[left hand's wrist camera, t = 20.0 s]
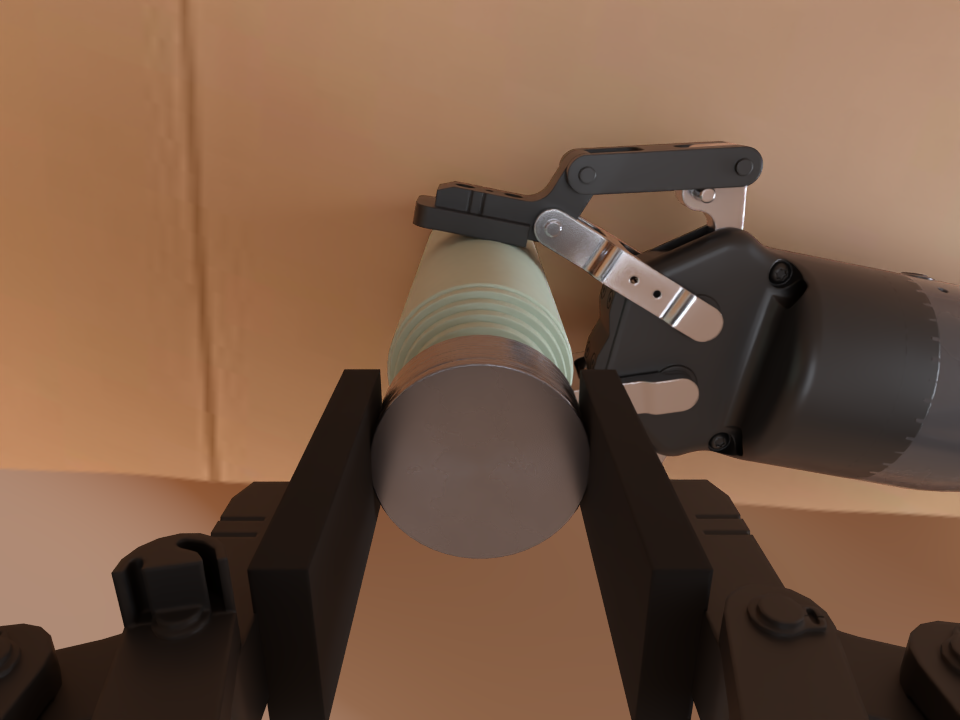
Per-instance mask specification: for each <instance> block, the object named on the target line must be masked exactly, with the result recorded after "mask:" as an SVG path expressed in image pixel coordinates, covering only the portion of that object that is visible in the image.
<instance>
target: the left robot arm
mask: <svg viewBox="0 0 960 720" xmlns="http://www.w3.org/2000/svg"><path fill="white" fill-rule="evenodd" d="M578 404H579V408H580V411H581V414H582V417H583V420H584V423H585V427H586V430H587V433H588V437H589V441H590V458H589V473H588V486H587V490H586V493H585V495H584V498H583V500H582V501H581V503H580V507H581V511H582V516H583V520H584V524H585V528H586V532H587V536H588V540H589V545H590V549H591V553H592V557H593V561H594V566H595V570H596V574H597V578H598V582H599V586H600V590H601V595H602V599H603V603H604V607H605V611H606V615H607V619H608V624H609V628H610V632H611V636H612V640H613V644H614V648H615V653H616V657H617V661H618V665H619V669H620V674H621V678H622V682H623V686H624V690H625V694H626V699H627V703H628V707H629V711H630V715H631V719H632V720H691V714H692V708H693V701H694V703H695V706H696V709H697V712H698V715H699V718H700V720H960V623H951V622H943V621H935V622H929V623H924V624H920V625H919V626H918V627H917V628H916V629H915V630H913V631H912V632H911V633H910V637H909V640H908V643H907V647H906V648H905V647H901V646H896V645H892V644H888V643H883V642H879V641H874V640H870V639H866V638H861V637H857V636H854V635H851V634H847V633H844V632H841V631H839V630H837V629H836V627H835V625H834V623H833V622H832V620H831V619H830V617H829V616H828V614H827V612H825V611H824V610H823V609H822V608H821V607H819V606H818V605H817V604H816V603H815V602H813V601H812V600H811V599H809V598H807V597H805V596H803V595H801V594H799V593H797V592H795V591H793V590H791V589H787V588H785V587H784V585H783V584H782V582H781V580H780V579H779V577H778V576H777V574H776V572H775V571H774V569H773V567H772V566H771V564H770V563H769V561H768V559H767V558H766V556H765V554H764V553H763V551H762V550H761V548H760V546H759V545H758V543H757V541H756V540H755V538H754V536H753V535H750V530H749V528H748V527H747V525H746V523H745V522H744V520H743V519H741V518H740V514H739V512H738V510H737V509H736V507H735V506H734V504H733V502H732V501H731V499H730V497H729V496H728V495H727V494H725V493H724V492H723V491H721V490H720V489H719V488H717V487H716V486H715V485H713V484H712V483H711V482H709V481H708V480H670V479H669V477H668V475H667V473H666V471H665V469H664V467H663V465H662V463H661V461H660V459H659V457H658V455H657V453H656V451H655V449H654V447H653V445H652V443H651V440H650V438H649V436H648V434H647V432H646V430H645V428H644V426H643V424H642V422H641V420H640V418H639V416H638V414H637V412H636V410H635V408H634V406H633V404H632V401H631V399H630V397H629V395H628V393H627V391H626V389H625V387H624V385H623V383H622V381H621V379H620V377H619V375H618V373H617V371H616V369H580V385H579V402H578ZM381 406H382V395H381V378H380V369H345V370H344V372H343V374H342V376H341V378H340V380H339V382H338V384H337V386H336V388H335V390H334V392H333V394H332V396H331V398H330V400H329V402H328V404H327V406H326V409H325V411H324V413H323V415H322V417H321V419H320V421H319V423H318V425H317V427H316V429H315V431H314V433H313V435H312V437H311V439H310V441H309V443H308V445H307V447H306V450H305V452H304V454H303V456H302V458H301V460H300V462H299V464H298V466H297V468H296V470H295V472H294V474H293V476H292V478H291V480H290V482H253V483H252V484H250V485H249V486H248V487H246V488H245V489H244V490H242V491H241V492H240V493H238V494H237V495H236V496H234V497H233V498H232V499H231V501H230V502H229V504H228V506H227V507H226V509H225V511H224V512H223V514H222V516H221V519H220V521H218V522H217V524H216V525H215V527H214V529H213V530H212V532H211V536H208V535H205V534H201V533H182V534H176V535H172V536H167V537H163V538H159V539H156V540H154V541H152V542H149V543H147V544H145V545H142V546H140V547H138V548H137V549H135V550H134V551H132V552H131V553H130V554H128V555H127V556H125V557H124V558H123V559H121V561H120V562H119V564H118V565H117V566H116V568H115V569H114V570H113V572H112V578H113V582H114V586H115V590H116V594H117V598H118V602H119V607H120V611H121V615H122V619H123V623H124V627H125V628H124V630H123V633H122V634H119V635H116V636H112V637H109V638H106V639H102V640H98V641H94V642H89V643H85V644H81V645H76V646H72V647H67V648H63V649H59V650H55V648H54V645H53V642H52V638H51V635H49V634H48V633H47V632H46V631H45V630H44V629H43V628H42V627H39V626H33V625H28V624H16V625H7V626H0V720H261V719H262V716H263V713H264V711H265V708H266V705H268V711H269V718H270V720H329V717H330V713H331V709H332V704H333V700H334V696H335V692H336V688H337V684H338V679H339V675H340V671H341V667H342V663H343V659H344V655H345V650H346V646H347V642H348V638H349V634H350V630H351V625H352V621H353V617H354V613H355V609H356V605H357V600H358V596H359V592H360V588H361V584H362V579H363V575H364V571H365V567H366V563H367V559H368V555H369V551H370V546H371V542H372V538H373V533H374V530H375V525H376V521H377V517H378V513H379V509H380V505H381V504H380V502H379V500H378V498H377V497H376V494H375V491H374V489H373V482H372V467H371V451H370V444H371V439H372V435H373V432H374V429H375V425H376V422H377V419H378V416H379V413H380V409H381Z"/></svg>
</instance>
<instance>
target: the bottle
mask: <svg viewBox="0 0 960 720" xmlns="http://www.w3.org/2000/svg"><path fill="white" fill-rule="evenodd" d="M469 335H492V336H500V337H504V338H508V339H512V340H516V341H518V342H521V343H523V344H526V345H528V346H530V347H532V348H533V349H535V350H537V351H539V352H540V353H542V354H543V355H544V356H546V357H547V358H548V359H550V360H551V361H552V362H553V363H554V364H555V365H556V366H557V367H558V368H559V369H560V371H561V372H562V373H563V374H564V376H565V377H566V378H567V380H568V382H569V383H570V385H572V379H573V357H572V352H571V347H570V344H569V341H568V338H567V335H566V333H565V330H564V327H563V324H562V321H561V318H560V316H559V313H558V310H557V307H556V304H555V301H554V299H553V296H552V293H551V290H550V287H549V284H548V282H547V279H546V276H545V273H544V270H543V267H542V265H541V262H540V259H539V256H538V253H537V250H536V248H535V245H534V242H533V241H531V240H527V244H526V248H525V247H520V246H515V245H510V244H505V243H501V242H496V241H491V240H484V239H479V238H474V237H469V236H464V235H459V234H453V233H448V232H443V231H438V230H432V232H431V234H430V236H429V239H428V241H427V244H426V247H425V250H424V252H423V255H422V258H421V261H420V264H419V267H418V269H417V272H416V275H415V278H414V281H413V283H412V286H411V289H410V292H409V295H408V298H407V300H406V303H405V306H404V309H403V312H402V315H401V317H400V320H399V323H398V326H397V329H396V331H395V334H394V337H393V340H392V343H391V347H390V350H389V356H388V370H387V374H388V381H389V386H390V384H391V383H392V381H393V379H394V378H395V376H396V375H397V374H398V373H399V371H400V370H401V369H402V368H403V367H404V366H405V365H406V364H407V363H408V362H409V361H410V360H411V359H412V358H414V357H415V356H416V355H418V354H419V353H420V352H422V351H423V350H425V349H427V348H429V347H431V346H433V345H435V344H437V343H440V342H442V341H445V340H448V339H452V338H456V337H461V336H469Z"/></svg>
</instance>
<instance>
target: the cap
mask: <svg viewBox="0 0 960 720" xmlns="http://www.w3.org/2000/svg"><path fill="white" fill-rule="evenodd" d="M370 451H371V467H372V482H373V489H374V491H375V494H376V497H377V498H378V500H379V502H380V504H381V506H382V508H383V509H384V511H385V512H386V513H387V515H388V516H389V517H390V519H391V520H392V521H393V522H394V523H395V524H396V525H397V526H398V527H399V528H400V529H401V530H402V531H403V532H405V533H406V534H407V535H408V536H410V537H411V538H413V539H414V540H416V541H418V542H419V543H421V544H423V545H425V546H427V547H429V548H431V549H434V550H436V551H439V552H442V553H445V554H449V555H453V556H458V557H465V558H496V557H502V556H507V555H512V554H516V553H519V552H522V551H524V550H527V549H529V548H531V547H534V546H536V545H538V544H540V543H541V542H543V541H545V540H546V539H548V538H549V537H551V536H552V535H553V534H555V533H556V532H557V531H558V530H560V529H561V528H562V527H563V526H564V525H565V524H566V523H567V522H568V521H569V519H570V518H571V517H572V515H573V514H574V513H575V511H576V510H577V509H578V507H579V505H580V503H581V501H582V500H583V498H584V495H585V493H586V490H587V486H588V473H589V458H590V441H589V437H588V433H587V430H586V427H585V423H584V420H583V417H582V414H581V411H580V408H579V404H578V401H577V399H576V396H575V394H574V391H573V389H572V387H571V385H570V383H569V382H568V380H567V378H566V377H565V376H564V374H563V373H562V372H561V371H560V369H559V368H558V367H557V366H556V365H555V364H554V363H553V362H552V361H551V360H550V359H548V358H547V357H546V356H544V355H543V354H542V353H540V352H539V351H537V350H535V349H533V348H532V347H530V346H528V345H526V344H523V343H521V342H518V341H516V340H512V339H508V338H504V337H500V336H492V335H469V336H461V337H456V338H452V339H448V340H445V341H442V342H440V343H437V344H435V345H433V346H431V347H429V348H427V349H425V350H423V351H422V352H420V353H419V354H418V355H416V356H415V357H414V358H412V359H411V360H410V361H409V362H408V363H407V364H406V365H405V366H404V367H403V368H402V369H401V370H400V371H399V373H398V374H397V375H396V376H395V378H394V379H393V381H392V383H391V384H390V386H389V388H388V390H387V392H386V395H385V397H384V400H383V403H382V406H381V409H380V413H379V416H378V419H377V422H376V425H375V429H374V432H373V435H372V439H371V444H370Z"/></svg>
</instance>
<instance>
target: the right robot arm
mask: <svg viewBox="0 0 960 720" xmlns="http://www.w3.org/2000/svg"><path fill="white" fill-rule="evenodd" d="M762 168H763V160H762V157H761V155H760V153H759V152H758V151H757V150H756V149H754V148H752V147H747V146H743V145H738V144H733V143H728V142H723V141H712V142H694V143H675V144H656V145H637V146H618V147H600V148H581V149H573V150H570V151H568V152H567V153H566V154H565V155H564V156H563V157H562V159H561V161H560V164H559V167H558V169H557V171H556V172H555V174H554V175H553V177H552V179H551V180H550V182H549V184H548V185H547V186H546V187H545V188H544V189H543V190H542V191H541V192H539V193H537V194H534V195H522V194H517V193H512V192H507V191H502V190H497V189H492V188H487V187H482V186H477V185H471V184H467V183H462V182H457V181H454V182H449V183H444V184H440V185H439V187H438V189H437V194H436V197H433V196H424V195H422V196H419V198H418V199H417V201H416V206H415V213H414V219H413V224H415V225H417V226H420V227H423V228H428V229H433V230H438V231H443V232H448V233H453V234H459V235H464V236H469V237H474V238H479V239H484V240H491V241H496V242H501V243H505V244H510V245H515V246H520V247H525V248H526V244H527V240H531V241H536V242H540V243H541V244H543V245H544V246H546V247H547V248H549V249H551V250H552V251H554V252H556V253H557V254H559V255H561V256H562V257H564V258H566V259H567V260H569V261H571V262H572V263H574V264H576V265H577V266H579V267H580V268H582V269H584V270H585V271H587V272H588V273H589V274H590V275H591V276H593V277H594V278H595V279H597V280H598V281H600V282H601V283H603V286H602V289H601V293H600V317H599V320H598V322H597V324H596V325H595V327H594V329H593V330H592V332H591V334H590V336H589V338H588V342H587V345H586V349H585V351H584V352H577V353H572V357H573V379H572V385H571V387H572V389H573V391H574V394H575V396H576V399H577V401H578V402H579V385H580V369H585V368H586V369H616V371H617V373H618V375H619V377H620V379H621V381H622V383H623V385H624V387H625V389H626V391H627V393H628V395H629V397H630V399H631V401H632V404H633V406H634V408H635V410H636V412H637V414H638V416H639V418H640V420H641V422H642V424H643V426H644V428H645V430H646V432H647V434H648V436H649V438H650V440H651V443H652V445H653V447H654V449H655V451H656V453H657V455H658V457H659V459H660V461H661V463H662V462H663V461H664V459H665V457H666V456H678V455H682V454H686V453H689V452H694V451H702V450H708V451H713V452H717V453H721V454H724V455H727V456H730V457H734V458H737V459H742V460H747V461H753V462H758V463H764V464H770V465H775V466H781V467H787V468H793V469H798V470H804V471H810V472H815V473H821V474H827V475H833V476H838V477H844V478H850V479H856V480H862V481H867V482H873V483H879V484H884V485H890V486H895V487H901V488H907V489H914V490H925V491H942V492H960V286H958V285H954V284H950V283H945V282H940V281H935V280H934V279H932V278H929V277H927V276H926V275H922V274H916V273H908V272H902V273H895V272H890V271H885V270H880V269H875V268H870V267H865V266H860V265H855V264H850V263H845V262H840V261H835V260H830V259H824V258H819V257H814V256H809V255H804V254H799V253H794V252H789V251H784V250H779V249H774V248H770V247H766V246H763V245H762V244H761V243H759V242H758V241H757V240H756V239H755V238H754V237H753V236H752V235H751V234H750V233H748V232H746V231H745V230H743V224H744V213H745V202H746V190H747V186H748V185H750V184H752V183H753V182H755V181H756V180H757V179H758V177H759V176H760V174H761V172H762ZM657 191H675V196H676V198H677V200H678V201H679V202H680V203H681V204H683V205H684V206H686V207H688V208H690V209H692V210H695V211H702V212H703V213H704V215H705V217H706V220H707V225H705V226H703V227H700V228H698V229H696V230H693V231H691V232H689V233H687V234H684V235H682V236H680V237H678V238H675V239H673V240H671V241H669V242H666V243H664V244H662V245H659V246H657V247H655V248H653V249H650V250H648V251H646V252H643V253H641V252H639V251H638V250H636V249H635V248H633V247H631V246H630V245H628V244H627V243H625V242H623V241H622V240H620V239H619V238H617V237H615V236H614V235H612V234H610V233H609V232H607V231H606V230H604V229H602V228H601V227H599V226H596V225H594V224H593V223H591V222H589V221H588V220H586V219H585V218H583V217H581V216H580V214H581V213H582V211H583V210H584V208H585V207H586V205H587V204H588V202H589V201H590V199H591V198H592V196H593V195H599V194H619V193H638V192H657Z"/></svg>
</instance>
